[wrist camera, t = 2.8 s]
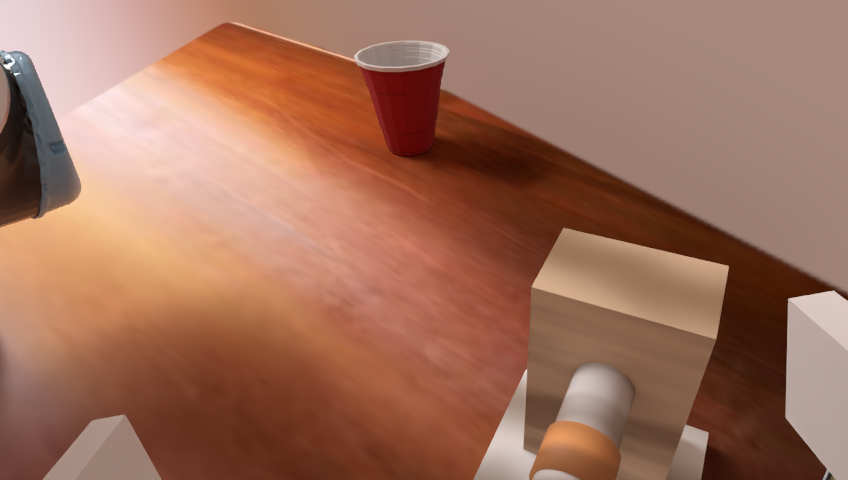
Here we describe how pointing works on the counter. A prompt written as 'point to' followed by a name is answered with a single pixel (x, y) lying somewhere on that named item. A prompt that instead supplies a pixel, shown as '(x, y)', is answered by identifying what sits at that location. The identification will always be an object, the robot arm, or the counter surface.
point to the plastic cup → (405, 91)
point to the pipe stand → (611, 366)
